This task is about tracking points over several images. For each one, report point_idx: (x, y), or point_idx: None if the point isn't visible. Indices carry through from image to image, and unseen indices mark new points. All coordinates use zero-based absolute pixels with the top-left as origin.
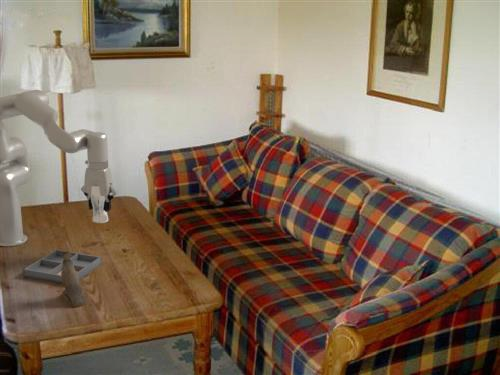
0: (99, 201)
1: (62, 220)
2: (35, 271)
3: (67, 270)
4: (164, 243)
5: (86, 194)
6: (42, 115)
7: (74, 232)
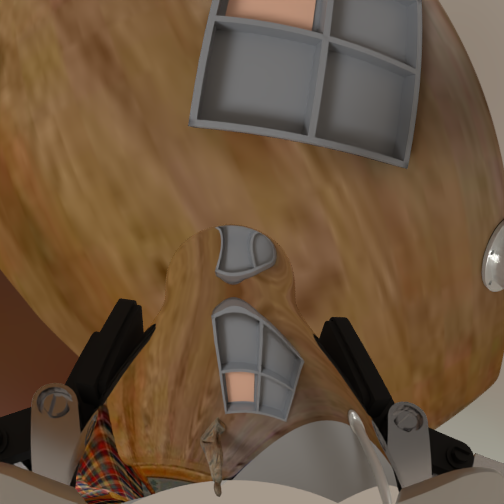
0: (148, 373)
1: (418, 394)
2: None
3: None
4: None
5: (442, 454)
6: None
7: (385, 356)
